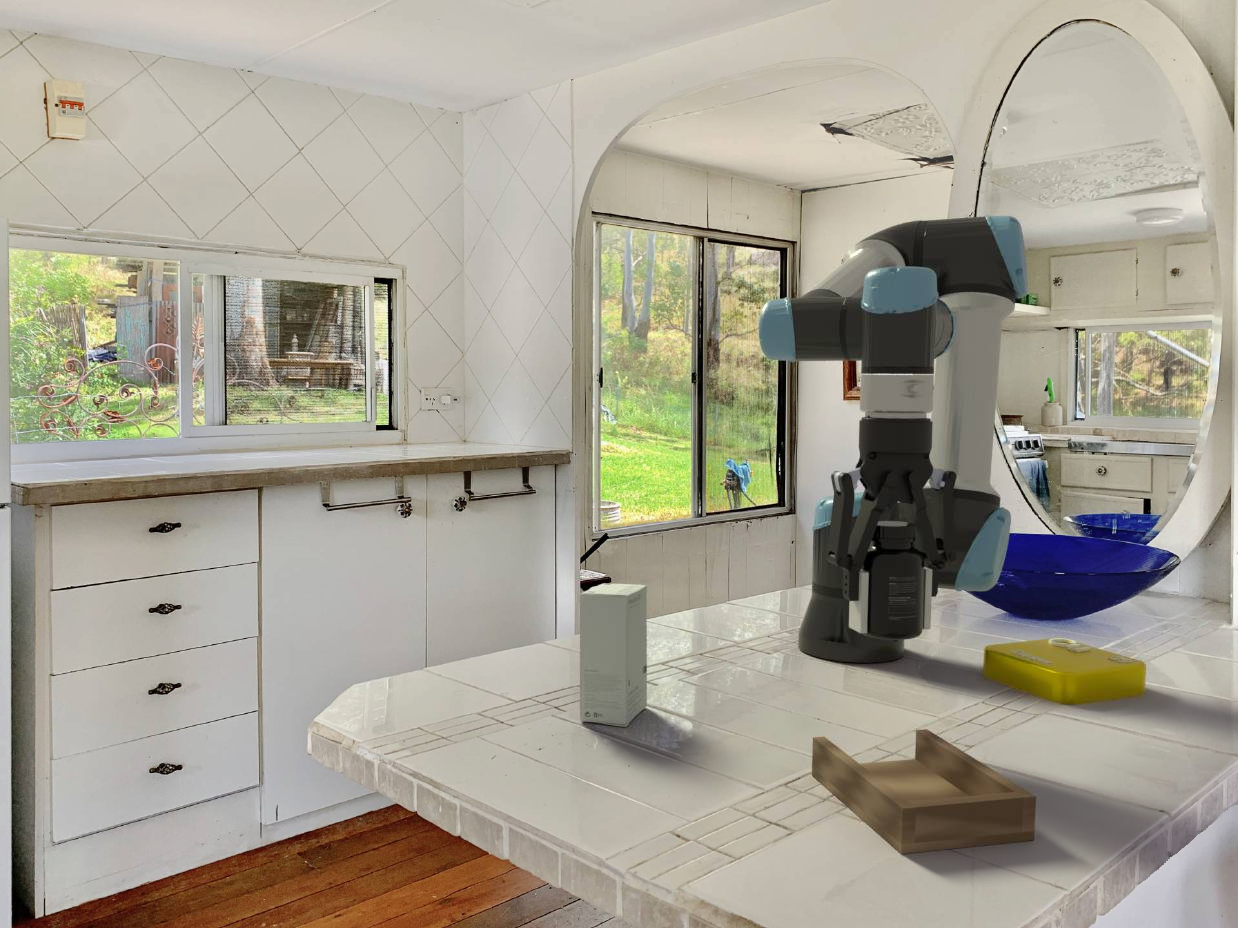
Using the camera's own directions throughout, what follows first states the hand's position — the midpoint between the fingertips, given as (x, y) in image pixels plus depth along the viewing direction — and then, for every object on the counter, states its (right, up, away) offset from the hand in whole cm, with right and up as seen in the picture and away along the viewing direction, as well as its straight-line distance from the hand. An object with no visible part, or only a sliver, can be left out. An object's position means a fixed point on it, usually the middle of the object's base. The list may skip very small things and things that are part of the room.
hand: (889, 627), depth 108 cm
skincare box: (-30, -11, +8) cm, 33 cm away
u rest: (-2, -13, -17) cm, 22 cm away
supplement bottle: (0, -1, 0) cm, 1 cm away
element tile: (+29, -12, +23) cm, 39 cm away
